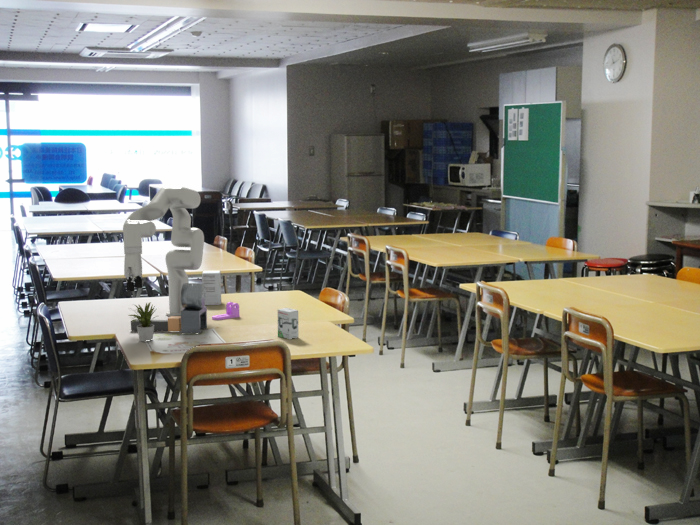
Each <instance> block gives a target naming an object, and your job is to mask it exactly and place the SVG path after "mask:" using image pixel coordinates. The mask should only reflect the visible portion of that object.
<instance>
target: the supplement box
mask: <svg viewBox="0 0 700 525" xmlns="http://www.w3.org/2000/svg"><path fill="white" fill-rule="evenodd" d="M201 281H202V282H201V283H203V284H204V285H205V290H206V301H205V306H217V305H218V306H220V305H221V304H222V273H221V270H203V271H202V273H201Z"/></svg>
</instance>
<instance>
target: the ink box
mask: <svg viewBox="0 0 700 525" xmlns="http://www.w3.org/2000/svg"><path fill="white" fill-rule="evenodd" d="M277 337H278V338H282V337H283V339H286V338H288V339H287V340H293V339H292V338H295V339H298V338H299V310H297V309H294V308H291V307H284V308H279V309H277ZM297 337H298V338H297Z"/></svg>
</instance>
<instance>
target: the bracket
mask: <svg viewBox="0 0 700 525" xmlns="http://www.w3.org/2000/svg"><path fill="white" fill-rule="evenodd" d="M225 309H226V310H225V311H226V312H225V313H223V314H221V313H220V314H217V315H212V316H211V320H212V321H222V320H228V319H229V320H230V319H235V318H240V304H239V303H238V302H233V301H228V302H226V306H225Z"/></svg>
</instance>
